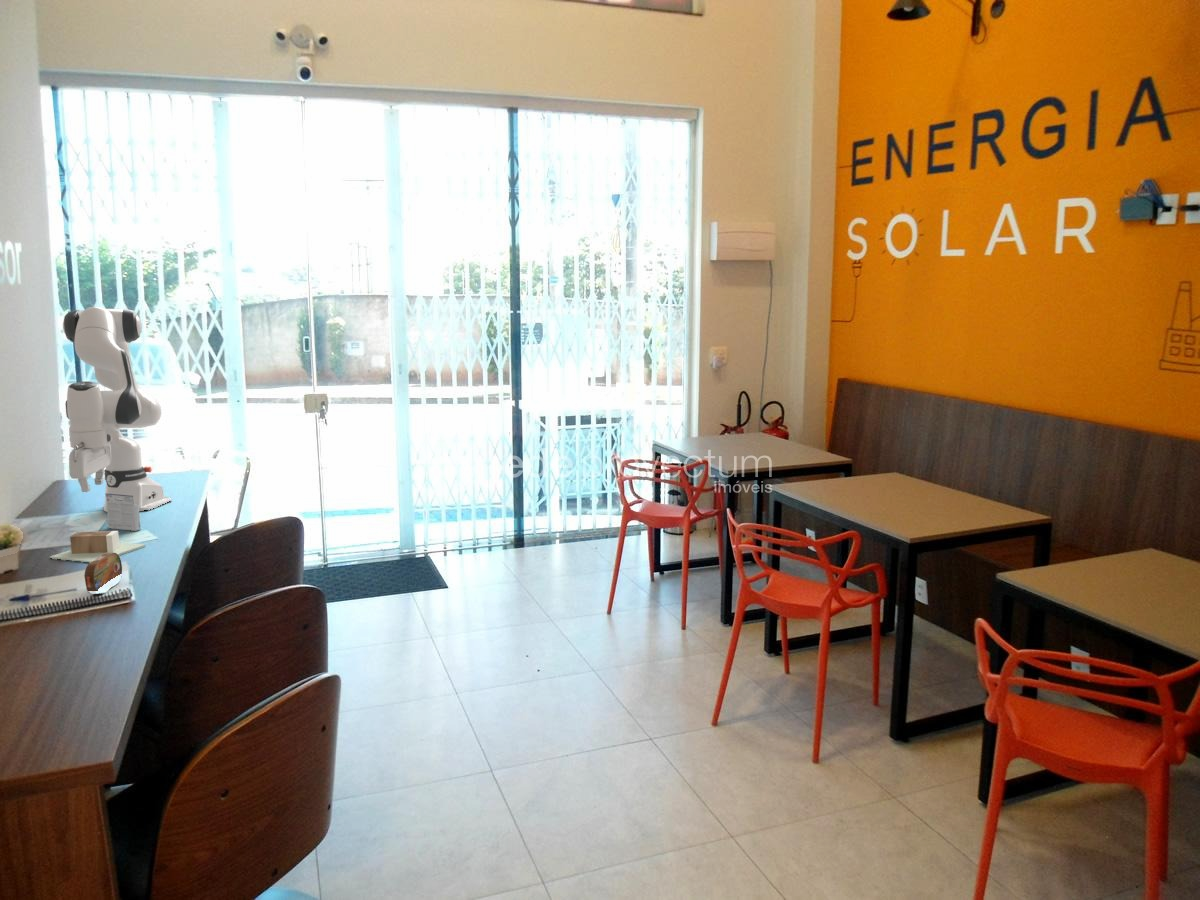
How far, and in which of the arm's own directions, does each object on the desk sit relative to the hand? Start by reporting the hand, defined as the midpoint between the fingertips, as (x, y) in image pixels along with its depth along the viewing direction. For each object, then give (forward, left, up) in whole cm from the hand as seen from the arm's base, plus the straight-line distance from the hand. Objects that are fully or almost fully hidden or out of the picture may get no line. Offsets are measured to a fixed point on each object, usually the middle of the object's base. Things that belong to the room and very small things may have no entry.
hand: (92, 487), depth 254 cm
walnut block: (+3, -5, -16) cm, 17 cm away
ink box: (-23, -13, -19) cm, 32 cm away
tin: (+25, +27, -19) cm, 42 cm away
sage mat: (0, 0, -19) cm, 19 cm away
